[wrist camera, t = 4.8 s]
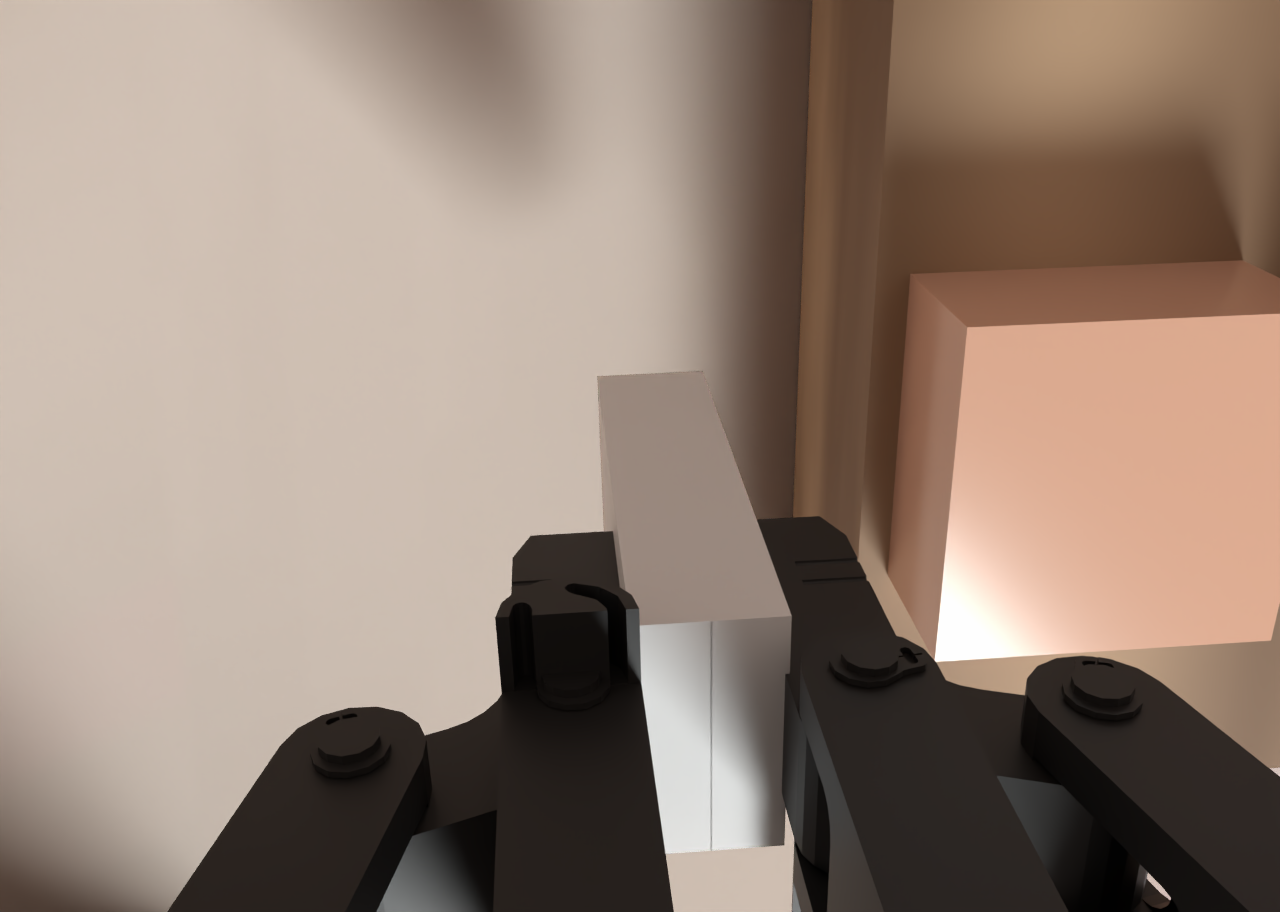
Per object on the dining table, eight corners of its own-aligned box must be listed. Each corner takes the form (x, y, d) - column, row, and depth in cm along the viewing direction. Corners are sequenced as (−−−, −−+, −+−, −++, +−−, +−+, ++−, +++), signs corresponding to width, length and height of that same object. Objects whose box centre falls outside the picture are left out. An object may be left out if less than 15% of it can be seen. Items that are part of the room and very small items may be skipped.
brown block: (788, 643, 26) (842, 798, 21) (814, -68, 20) (897, -65, 16) (1324, 610, 27) (1486, 752, 22) (1496, -83, 21) (1765, -83, 16)
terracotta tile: (887, 574, 19) (934, 661, 17) (910, 273, 17) (967, 327, 15) (1186, 557, 20) (1271, 640, 18) (1243, 260, 18) (1348, 310, 15)
